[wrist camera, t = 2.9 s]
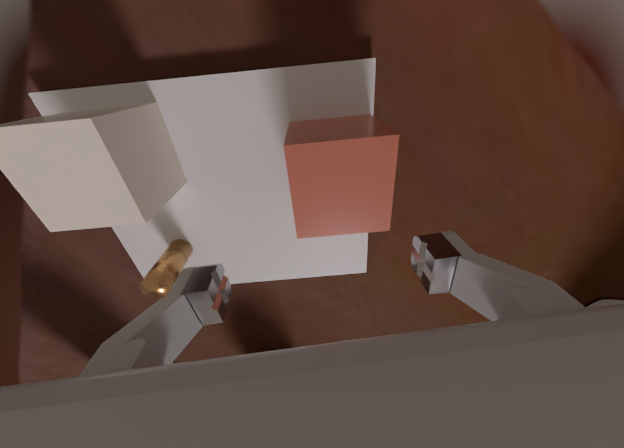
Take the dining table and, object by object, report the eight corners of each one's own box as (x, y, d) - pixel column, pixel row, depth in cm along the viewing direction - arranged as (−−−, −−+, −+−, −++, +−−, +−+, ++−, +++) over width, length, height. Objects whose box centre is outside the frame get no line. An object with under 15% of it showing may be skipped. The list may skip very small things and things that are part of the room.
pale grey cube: (156, 101, 16) (90, 118, 11) (187, 182, 19) (146, 223, 14) (73, 110, 16) (-31, 130, 11) (116, 188, 19) (50, 232, 14)
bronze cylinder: (188, 238, 22) (161, 278, 18) (196, 255, 23) (172, 297, 19) (166, 240, 22) (134, 281, 18) (174, 257, 23) (146, 299, 19)
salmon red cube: (370, 114, 17) (399, 134, 12) (367, 189, 20) (389, 230, 15) (289, 122, 17) (283, 145, 12) (298, 195, 20) (297, 238, 15)
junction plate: (372, 58, 16) (375, 57, 15) (364, 265, 26) (366, 272, 25) (41, 91, 16) (27, 93, 16) (156, 283, 26) (151, 290, 25)
